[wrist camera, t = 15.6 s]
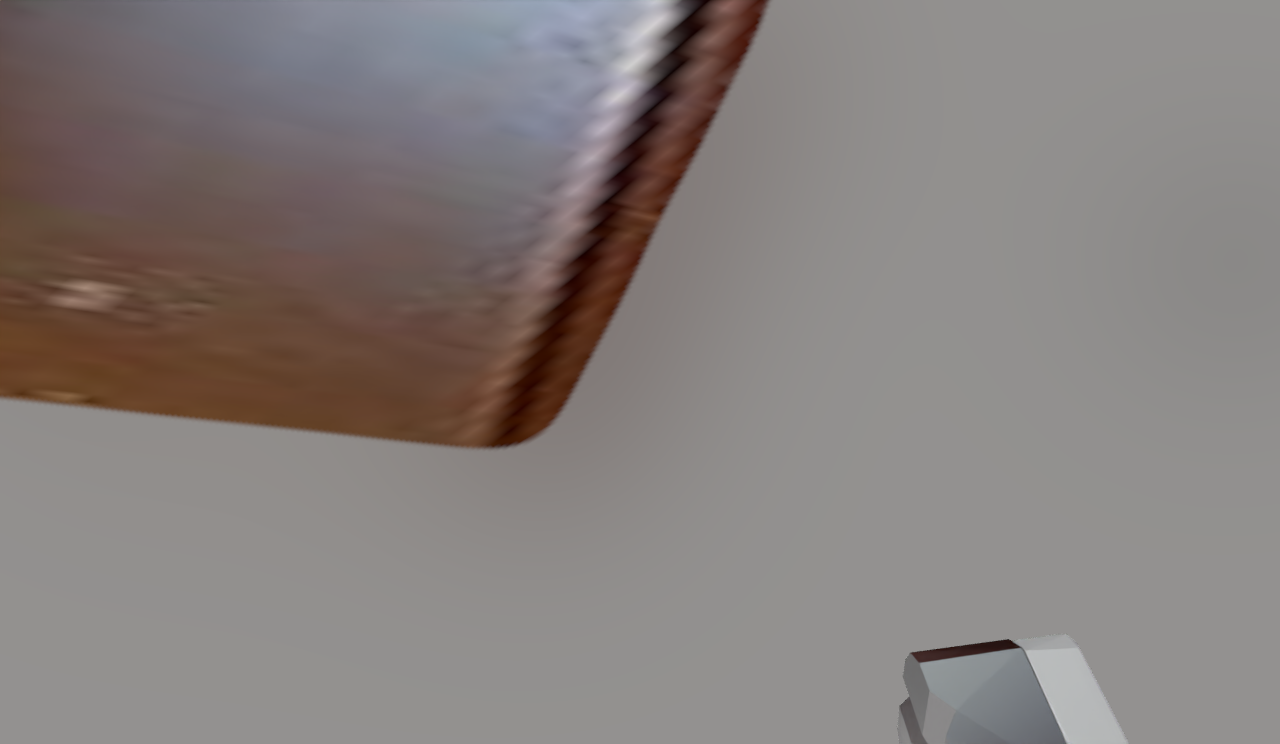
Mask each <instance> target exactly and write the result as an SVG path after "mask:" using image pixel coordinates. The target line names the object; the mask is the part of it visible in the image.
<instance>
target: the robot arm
mask: <svg viewBox="0 0 1280 744" xmlns="http://www.w3.org/2000/svg"><path fill="white" fill-rule="evenodd" d="M903 679H904V682H905V685H906V688H907V691H908V694H909V697H908V698H907V699H906V700H905V701H904V702H903V703H902V704H901V705H900V706H899V717H898V737H899V744H1129V742H1128V741H1127V739H1126V737H1125V735H1124V733H1123V731H1122V729H1121V727H1120V725H1119V723H1118V721H1117V719H1116V717H1115V716H1114V714H1113V712H1112V710H1111V708H1110V706H1109V704H1108V702H1107V700H1106V698H1105V696H1104V694H1103V692H1102V690H1101V689H1100V687H1099V685H1098V683H1097V681H1096V679H1095V677H1094V675H1093V673H1092V671H1091V669H1090V667H1089V665H1088V663H1087V661H1086V660H1085V658H1084V656H1083V654H1082V652H1081V650H1080V648H1079V646H1078V644H1077V643H1076V642H1075V641H1074V640H1073V639H1072V638H1071V637H1070V636H1068V635H1067V634H1056V635H1049V636H1042V637H1035V638H1028V639H1021V640H1014V641H1011V640H1009V639H1007V640H999V641H992V642H985V643H977V644H970V645H963V646H955V647H948V648H940V649H933V650H927V651H918V652H912V653H909V655H908V656H907V658H906V659H905V666H904V672H903Z"/></svg>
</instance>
